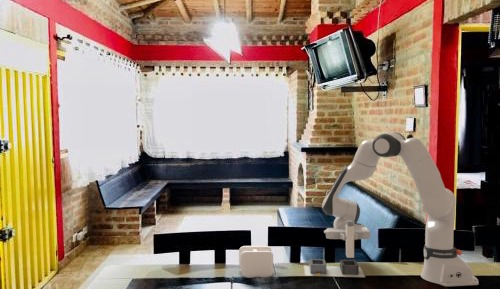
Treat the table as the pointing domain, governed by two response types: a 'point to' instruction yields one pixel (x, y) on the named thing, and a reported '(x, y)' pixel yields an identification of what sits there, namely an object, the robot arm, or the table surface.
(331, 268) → the panel
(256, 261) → the cable organizer
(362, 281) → the table surface
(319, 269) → the box
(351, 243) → the plug
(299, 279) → the table surface
